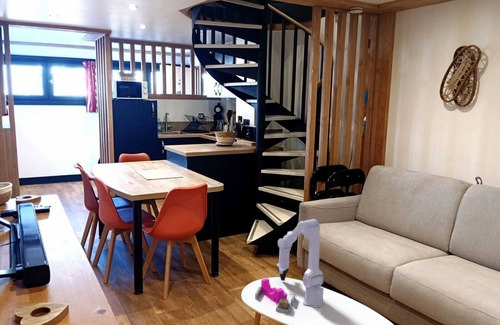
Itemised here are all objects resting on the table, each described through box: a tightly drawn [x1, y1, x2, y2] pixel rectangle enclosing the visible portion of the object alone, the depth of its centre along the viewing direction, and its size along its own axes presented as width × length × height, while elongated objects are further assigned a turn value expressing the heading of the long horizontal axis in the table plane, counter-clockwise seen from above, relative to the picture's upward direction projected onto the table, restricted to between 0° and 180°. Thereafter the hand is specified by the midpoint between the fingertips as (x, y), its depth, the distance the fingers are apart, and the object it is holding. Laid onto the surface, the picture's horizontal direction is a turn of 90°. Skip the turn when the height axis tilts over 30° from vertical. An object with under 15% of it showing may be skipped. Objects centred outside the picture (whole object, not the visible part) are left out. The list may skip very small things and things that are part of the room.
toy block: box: [260, 277, 288, 305], centre depth 211 cm, size 15×6×8 cm, turn 34°
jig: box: [254, 286, 296, 314], centre depth 206 cm, size 20×16×3 cm
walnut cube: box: [279, 298, 289, 310], centre depth 200 cm, size 4×4×4 cm
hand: (282, 280), depth 228 cm, fingers closed
